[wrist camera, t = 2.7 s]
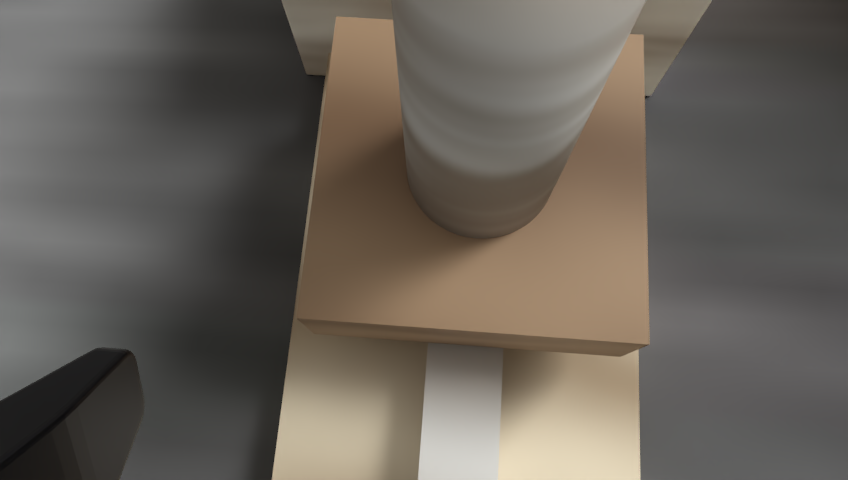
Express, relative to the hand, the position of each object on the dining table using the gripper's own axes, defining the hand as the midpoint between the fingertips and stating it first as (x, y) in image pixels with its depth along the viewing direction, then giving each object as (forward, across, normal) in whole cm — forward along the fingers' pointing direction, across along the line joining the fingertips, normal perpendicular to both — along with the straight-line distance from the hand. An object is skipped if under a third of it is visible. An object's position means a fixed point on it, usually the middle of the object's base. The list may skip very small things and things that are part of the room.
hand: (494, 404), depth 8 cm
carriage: (+11, 0, +2) cm, 11 cm away
